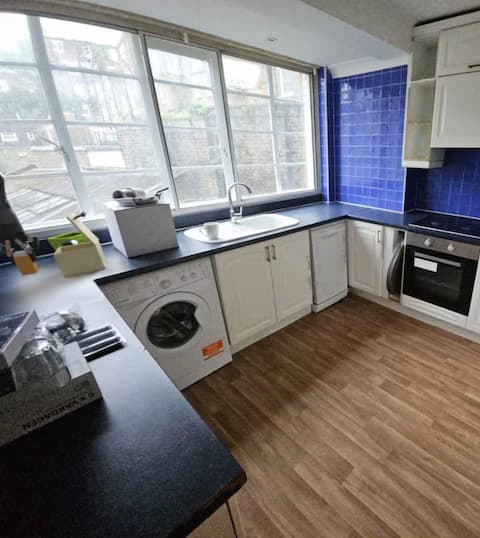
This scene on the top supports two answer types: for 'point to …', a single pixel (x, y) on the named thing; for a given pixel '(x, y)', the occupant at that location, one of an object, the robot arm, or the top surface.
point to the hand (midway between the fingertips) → (25, 263)
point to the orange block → (25, 263)
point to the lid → (82, 227)
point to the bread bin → (80, 259)
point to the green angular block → (67, 239)
